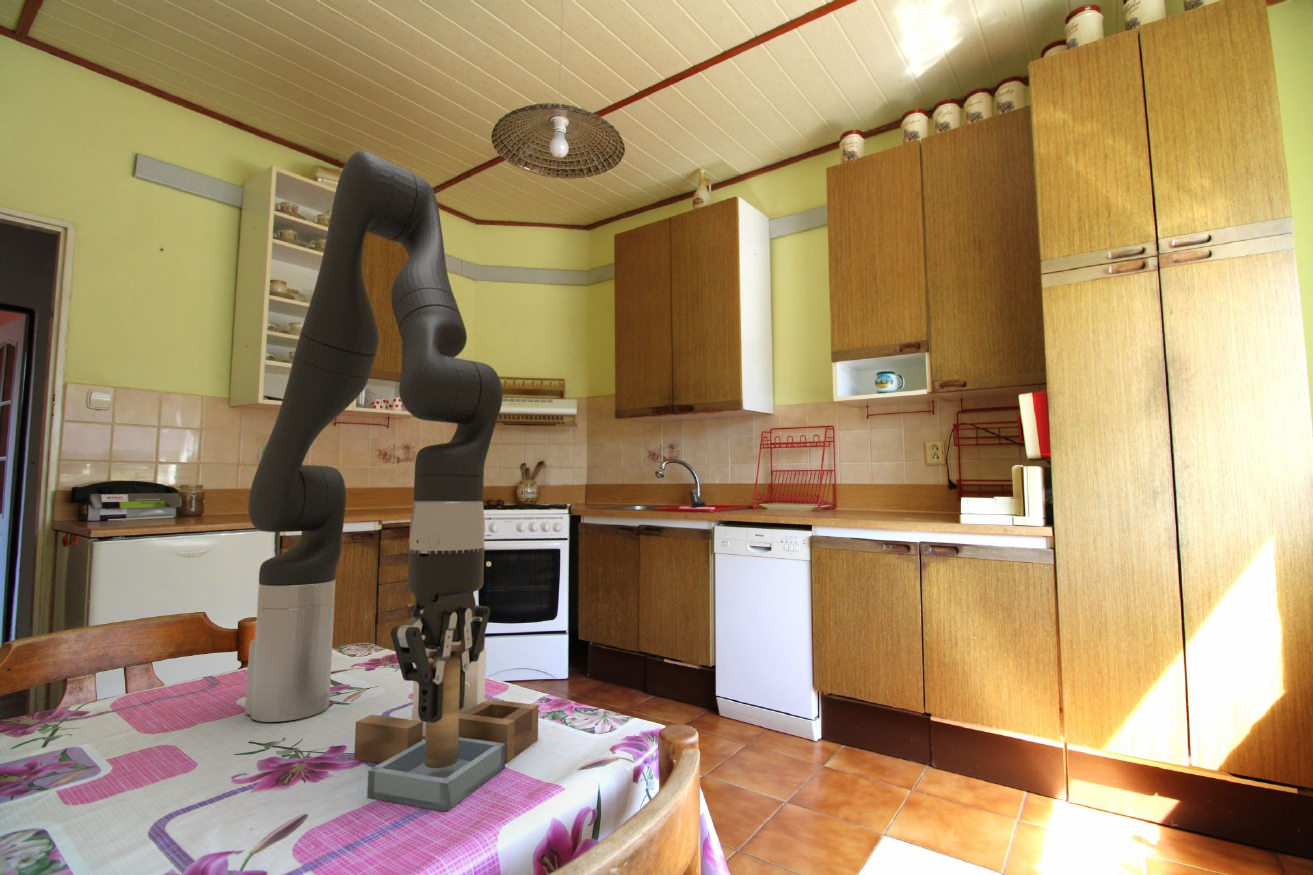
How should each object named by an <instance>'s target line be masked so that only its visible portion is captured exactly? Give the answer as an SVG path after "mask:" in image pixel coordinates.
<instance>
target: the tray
mask: <svg viewBox="0 0 1313 875" xmlns="http://www.w3.org/2000/svg"><path fill="white" fill-rule="evenodd" d="M505 768H506V763H505V743H498V742H490V741H483V740H476V739H469V738H461V737H458V761H457V762H456V763H455V764H453V765H451V766H448V767H444V768H429V767H427V766H425V738H424V739H422V741H421V742H419V743H417V744H415V745H413V746H411V747H410V748H408V749H406V750H404V751H402V752H401V753H399V754H397V755H395V756H393V757H391V758H390V759H388V760H386V761H384V762H382V763H378V764H377V765H375V766H374V767H371V768H370V769H368V771H367V787H366V788H367V792H366V793H367V794H366V798H369V799H373V800H378V801H384V802H390V803H396V804H402V805H406V806H413V807H418V808H424V809H428V810H434V811H439V812H446V813H447V812H448V811H449V810H451V809H452V808H454V807H455V806H456V805H458V804H459V803H460V802H462V801H463V800H464V799H466V798H467V797H468V796H469V795H471V794H472V793H474V791H476V790H478V789H479V788H481V786H483V785H484V784H485V783H487V782H488V781H489V780H491V779H492V778H493V777H495V776H496V775H497V774H499V773H500V772H501V771H503V770H505Z"/></svg>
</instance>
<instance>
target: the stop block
mask: <svg viewBox="0 0 1313 875" xmlns="http://www.w3.org/2000/svg"><path fill="white" fill-rule="evenodd" d="M354 728H355V732H354V734H355V735H354V751H353V752H354V757H353V760H358V761H363V762H369V763H370V762H371V763H377V764H381V763H382V762H384V761H386V760H388V759H390V758H391V757H393V756H395V755H397V754H399V753H401V752H402V751H404V750H406V749H408V748H410V747H411V746H413V745H415V744H417V743H419V742H421V741H422V740H423V737H422V732H423V721H417V720H412V719H409V718H401V717H394V716H386V715H378V714H370V715H367V716H365V717H363V718H361V719H358V720H356V721H355V727H354Z"/></svg>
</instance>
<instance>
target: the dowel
mask: <svg viewBox="0 0 1313 875" xmlns="http://www.w3.org/2000/svg"><path fill="white" fill-rule="evenodd" d="M433 663H434V660H433V659H431V660H429V665H430V669H431V670H433ZM441 683H443V703H442V718H441V720H439V721H437V722H435V723H431V722H426V737H424V739H425V766H427V767H429V768H444V767H448V766H451V765H453V764H455V763H456V762H457V761H458V734H459V695H460V658H458V657H449V658H447V659H446V660H445V664H444V671H443V678H442V681H441Z"/></svg>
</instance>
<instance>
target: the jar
mask: <svg viewBox="0 0 1313 875" xmlns="http://www.w3.org/2000/svg"><path fill="white" fill-rule="evenodd" d="M473 640H474V638H472V644H473ZM485 644H486V634H485V635H484V639H483V643H482V647H481V651H480V655H479V659H478V660H477V661H476V662H471V663H470V666H469V669H468V671H467V672H465V690H464V691H465V697H464V706H463V708H462V709H460V710H459V714H461V713H463V712H465V711H467V710H469V709H470V708H472V707H474V706H476V705H478V704H480V703H482V702H484V701H485V700H486V671H487V670H486V668H487V667H486V665H487V647H486V646H485ZM427 647H428V649H431V650H438V649H439V648H438V647H433V646H427ZM471 648H472V647H471ZM471 648H469V649H470V650H471ZM454 653H455V651H453V655H454ZM431 659H432V658H429V660H431ZM413 666H414V668H416V665H415V664H414V663H413ZM412 682H413V686H412V707H411V708H412V713H411V720H417V721H421V720H420V718H419V714H418V702H419V684H418V683H417V682H416V681H412ZM425 737H426V722H424V721H423V732H422V738H425Z"/></svg>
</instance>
